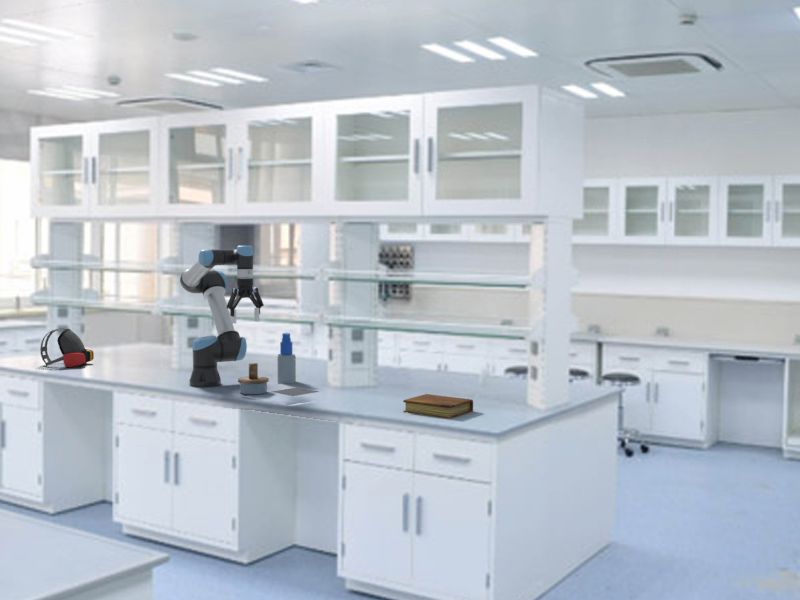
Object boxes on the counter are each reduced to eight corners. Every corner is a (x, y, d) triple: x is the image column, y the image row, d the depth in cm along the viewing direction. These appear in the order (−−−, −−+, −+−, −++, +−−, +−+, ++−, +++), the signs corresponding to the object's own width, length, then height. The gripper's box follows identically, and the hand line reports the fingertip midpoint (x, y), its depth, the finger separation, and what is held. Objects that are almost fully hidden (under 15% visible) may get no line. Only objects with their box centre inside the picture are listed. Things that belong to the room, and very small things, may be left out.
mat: (270, 393, 425) (270, 391, 425) (296, 389, 436) (296, 387, 436) (293, 397, 414) (293, 395, 414) (319, 393, 425) (319, 391, 425)
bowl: (234, 394, 422) (234, 381, 421) (255, 390, 431) (255, 378, 430) (251, 397, 414) (250, 384, 413) (271, 394, 423) (271, 381, 422)
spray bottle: (278, 382, 457) (278, 332, 455) (296, 382, 457) (296, 332, 455) (276, 385, 448) (276, 334, 446) (294, 385, 448) (294, 334, 446)
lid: (231, 381, 421) (231, 363, 421) (255, 377, 432) (255, 360, 431) (250, 384, 412) (250, 366, 411) (274, 381, 422) (274, 363, 422)
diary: (473, 412, 385) (473, 399, 384) (450, 420, 369) (450, 406, 369) (427, 406, 398) (427, 393, 397) (403, 413, 382) (403, 399, 382)
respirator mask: (85, 363, 497) (64, 322, 496) (46, 382, 499) (26, 341, 498) (99, 358, 519) (80, 318, 518) (63, 376, 521) (43, 336, 520)
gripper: (228, 279, 423) (228, 324, 425) (270, 277, 442) (270, 321, 443) (218, 278, 428) (219, 323, 430) (260, 276, 447) (261, 319, 448)
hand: (245, 322), depth 437 cm, fingers open, 13 cm apart
